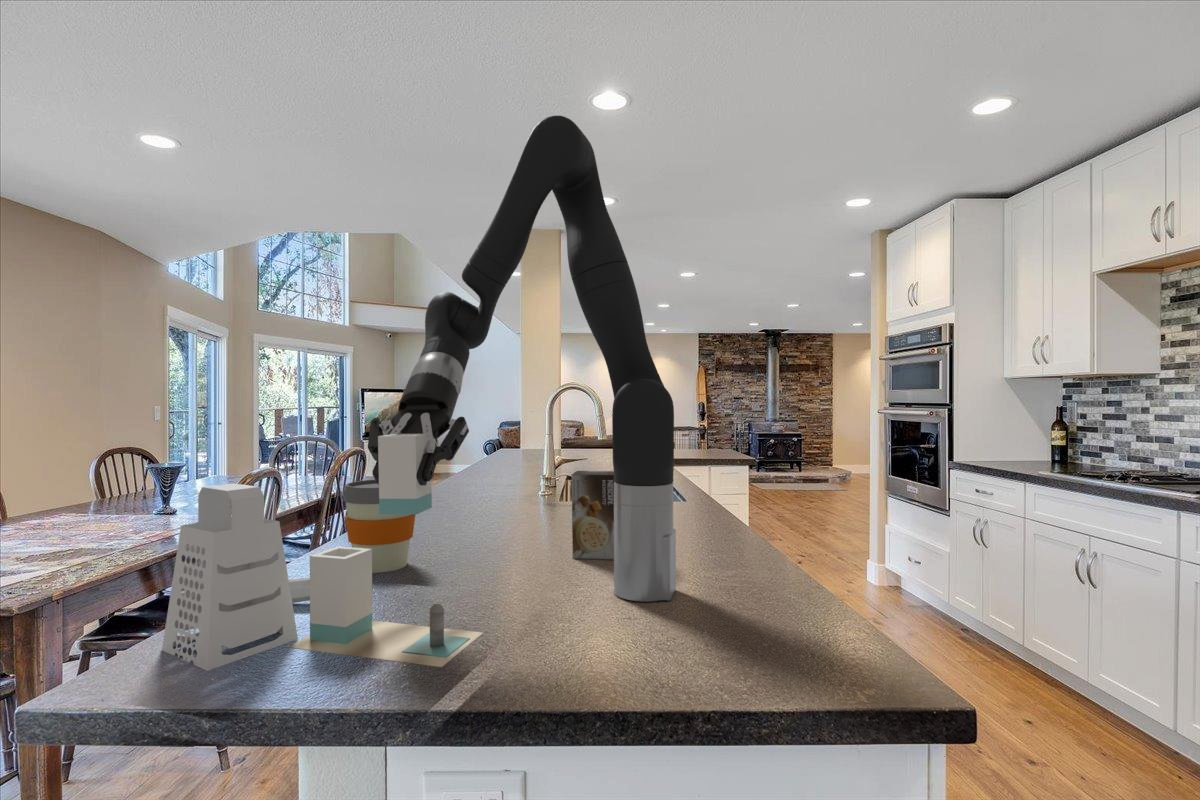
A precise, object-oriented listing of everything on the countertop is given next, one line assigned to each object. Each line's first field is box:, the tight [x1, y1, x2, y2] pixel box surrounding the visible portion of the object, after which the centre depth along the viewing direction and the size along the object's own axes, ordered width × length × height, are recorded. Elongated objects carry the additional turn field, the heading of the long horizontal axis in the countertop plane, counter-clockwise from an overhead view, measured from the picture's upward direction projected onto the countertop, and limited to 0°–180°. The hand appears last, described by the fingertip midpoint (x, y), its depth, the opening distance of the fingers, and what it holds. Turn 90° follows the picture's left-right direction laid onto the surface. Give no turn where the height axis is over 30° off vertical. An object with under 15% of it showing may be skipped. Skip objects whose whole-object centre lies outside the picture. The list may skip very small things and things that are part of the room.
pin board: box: [287, 603, 484, 668], centre depth 74 cm, size 20×10×6 cm, turn 75°
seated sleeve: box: [309, 546, 373, 644], centre depth 76 cm, size 5×5×10 cm
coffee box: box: [571, 470, 614, 560], centre depth 119 cm, size 9×6×16 cm
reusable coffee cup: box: [343, 479, 416, 574], centre depth 112 cm, size 13×13×15 cm
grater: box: [161, 482, 299, 672], centre depth 73 cm, size 10×10×20 cm
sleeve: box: [378, 434, 433, 515], centre depth 82 cm, size 5×5×10 cm
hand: (400, 481), depth 80 cm, fingers closed on sleeve, 5 cm apart
